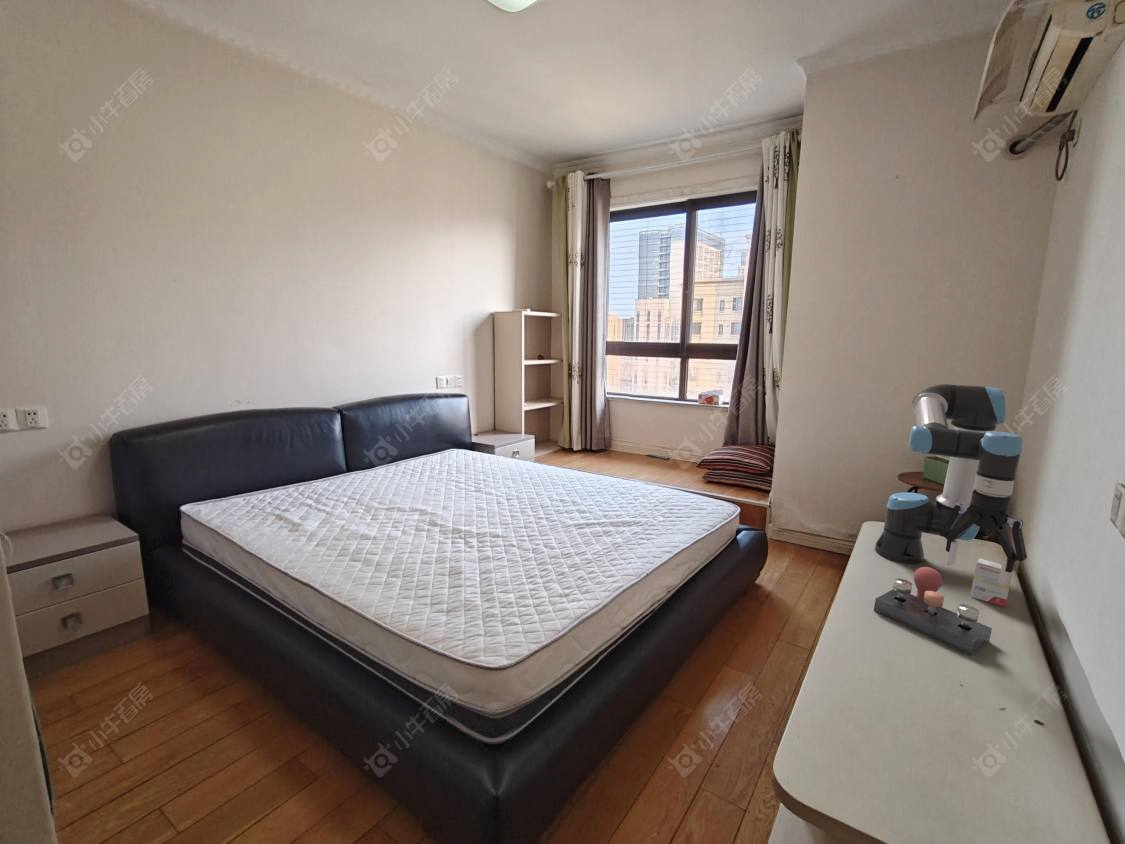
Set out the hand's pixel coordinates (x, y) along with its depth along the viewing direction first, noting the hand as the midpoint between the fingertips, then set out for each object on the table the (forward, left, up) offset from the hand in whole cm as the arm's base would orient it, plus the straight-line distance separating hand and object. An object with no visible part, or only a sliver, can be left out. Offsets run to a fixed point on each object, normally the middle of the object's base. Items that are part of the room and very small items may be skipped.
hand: (975, 572), depth 133 cm
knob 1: (0, -16, -16) cm, 23 cm away
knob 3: (0, 0, -16) cm, 16 cm away
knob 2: (0, -8, -16) cm, 18 cm away
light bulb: (-11, -14, -20) cm, 27 cm away
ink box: (-33, -5, -20) cm, 39 cm away
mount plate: (0, -8, -20) cm, 21 cm away
